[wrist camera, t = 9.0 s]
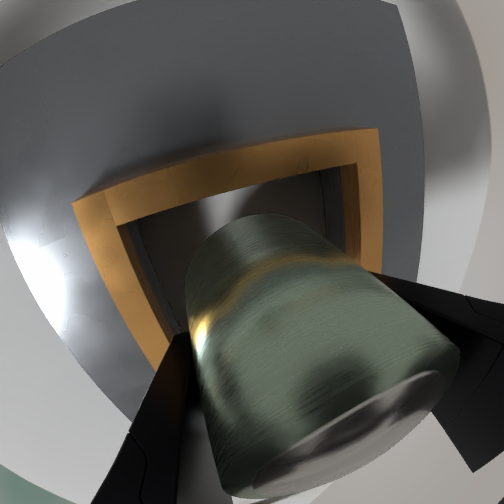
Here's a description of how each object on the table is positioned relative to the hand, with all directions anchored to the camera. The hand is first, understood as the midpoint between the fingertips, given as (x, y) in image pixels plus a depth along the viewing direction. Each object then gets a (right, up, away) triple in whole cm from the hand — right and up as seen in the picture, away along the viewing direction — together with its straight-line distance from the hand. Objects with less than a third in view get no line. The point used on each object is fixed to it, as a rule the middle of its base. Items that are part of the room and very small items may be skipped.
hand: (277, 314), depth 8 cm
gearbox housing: (-1, +1, +3) cm, 4 cm away
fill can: (0, +1, +1) cm, 2 cm away
